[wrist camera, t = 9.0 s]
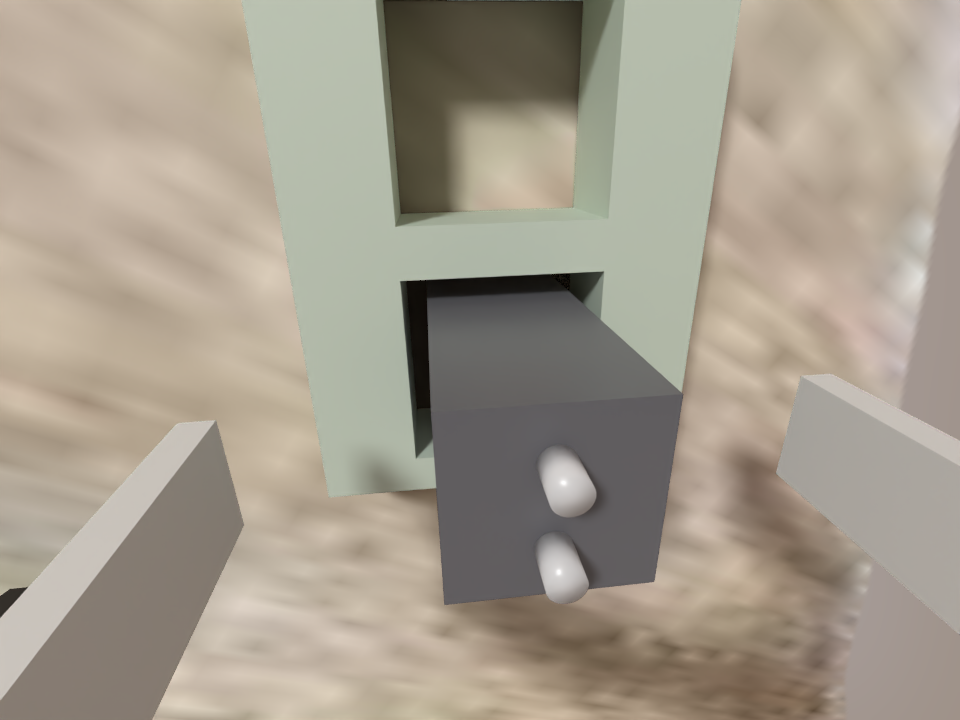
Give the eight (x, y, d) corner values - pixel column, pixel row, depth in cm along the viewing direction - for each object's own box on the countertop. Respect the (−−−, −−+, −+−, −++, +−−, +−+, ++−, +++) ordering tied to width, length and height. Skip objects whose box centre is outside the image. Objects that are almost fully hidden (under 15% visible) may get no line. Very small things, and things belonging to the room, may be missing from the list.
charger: (433, 391, 19) (446, 649, 9) (426, 279, 17) (431, 443, 7) (545, 383, 20) (676, 623, 9) (548, 273, 18) (714, 421, 8)
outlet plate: (344, 441, 20) (328, 497, 16) (268, -56, 13) (219, -123, 10) (631, 419, 21) (670, 467, 17) (683, -49, 14) (757, -109, 11)
